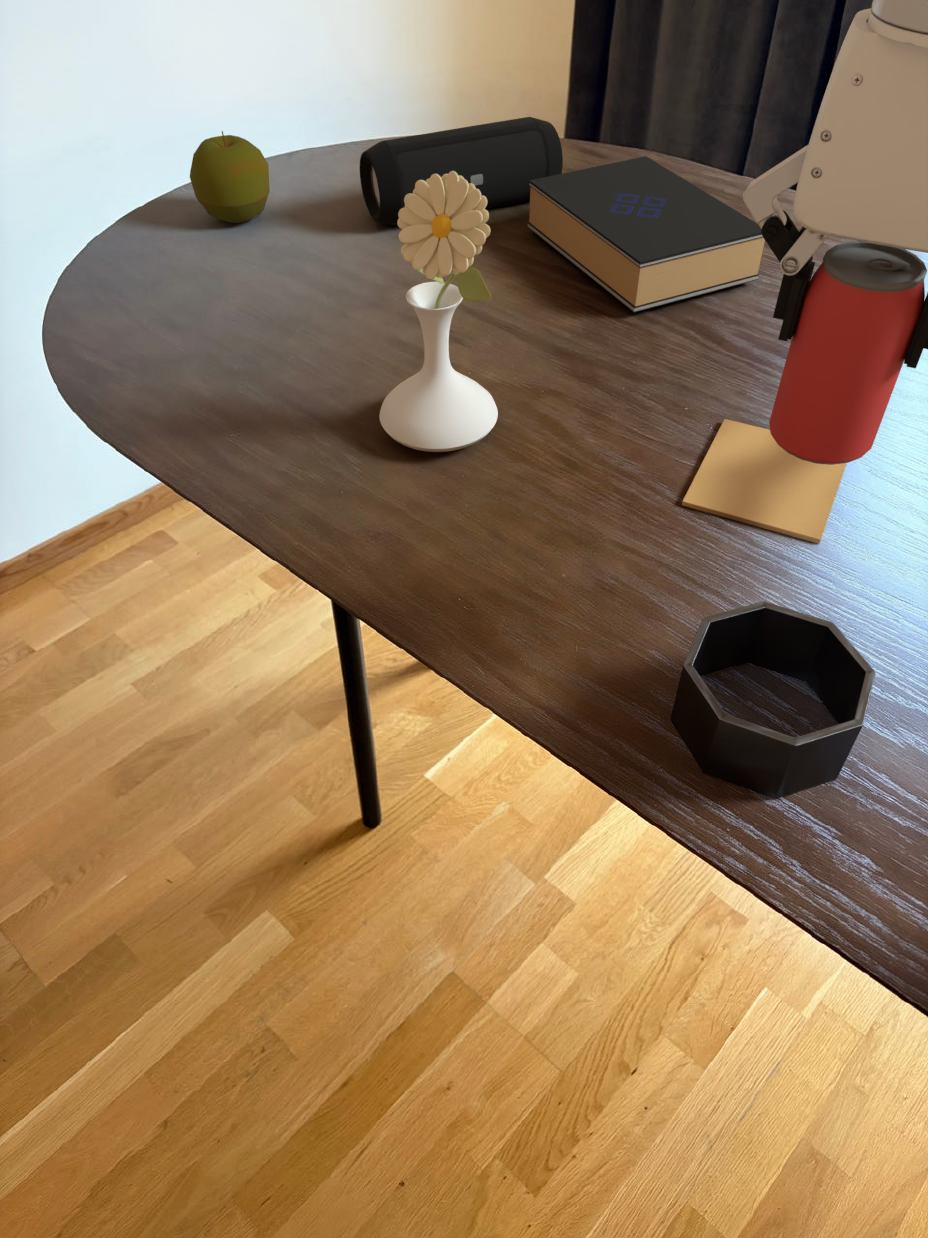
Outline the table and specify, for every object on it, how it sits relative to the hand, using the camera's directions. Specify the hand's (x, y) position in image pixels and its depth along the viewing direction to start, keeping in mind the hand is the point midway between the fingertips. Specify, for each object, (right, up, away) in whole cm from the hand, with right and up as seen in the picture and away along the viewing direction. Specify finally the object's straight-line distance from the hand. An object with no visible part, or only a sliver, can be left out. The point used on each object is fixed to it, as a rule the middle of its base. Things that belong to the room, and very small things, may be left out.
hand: (849, 340), depth 56 cm
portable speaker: (-23, +39, +70) cm, 84 cm away
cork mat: (+5, -4, +29) cm, 30 cm away
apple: (-53, +37, +69) cm, 95 cm away
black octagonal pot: (-2, -24, +10) cm, 26 cm away
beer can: (0, -5, +5) cm, 7 cm away
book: (-2, +28, +60) cm, 66 cm away
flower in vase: (-25, +1, +35) cm, 43 cm away
